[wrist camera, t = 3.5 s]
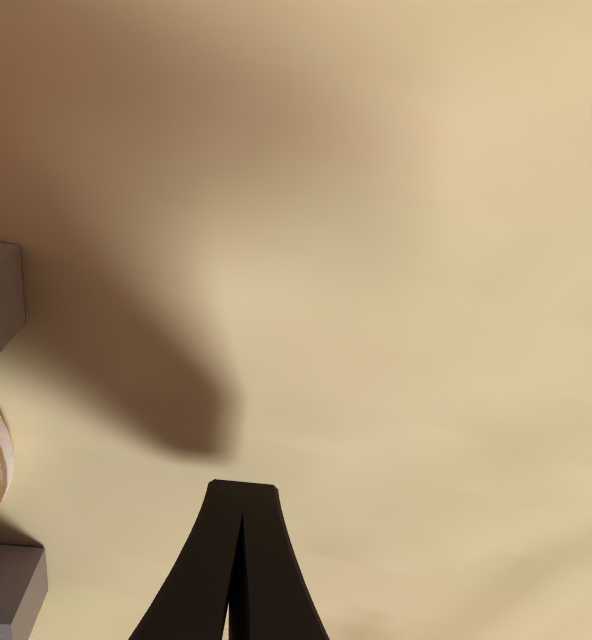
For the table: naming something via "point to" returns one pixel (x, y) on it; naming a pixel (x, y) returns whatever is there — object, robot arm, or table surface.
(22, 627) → the grey u-shaped piece
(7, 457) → the pill bottle
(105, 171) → the table surface
